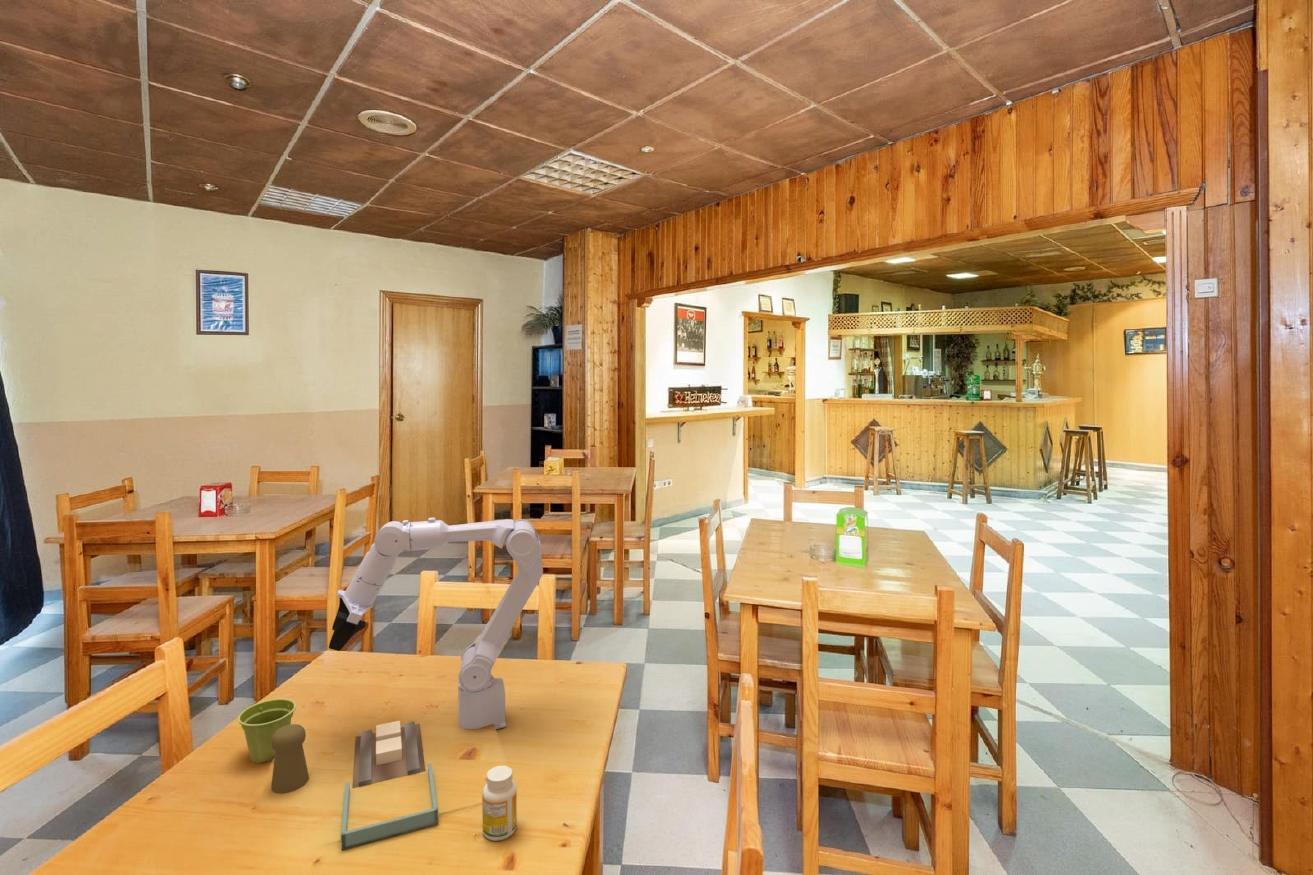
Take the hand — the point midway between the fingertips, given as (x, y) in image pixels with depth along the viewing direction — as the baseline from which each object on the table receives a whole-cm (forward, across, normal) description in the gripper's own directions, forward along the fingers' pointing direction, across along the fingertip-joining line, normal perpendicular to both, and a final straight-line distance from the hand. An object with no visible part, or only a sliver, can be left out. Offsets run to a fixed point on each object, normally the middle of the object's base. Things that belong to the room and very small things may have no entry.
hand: (335, 639), depth 120 cm
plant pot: (+24, +2, 0) cm, 24 cm away
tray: (+12, +27, +17) cm, 34 cm away
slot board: (+13, +12, +18) cm, 25 cm away
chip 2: (+12, +13, +17) cm, 25 cm away
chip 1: (+13, +7, +17) cm, 22 cm away
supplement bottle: (+3, +39, +31) cm, 50 cm away
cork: (+21, +15, +4) cm, 26 cm away
